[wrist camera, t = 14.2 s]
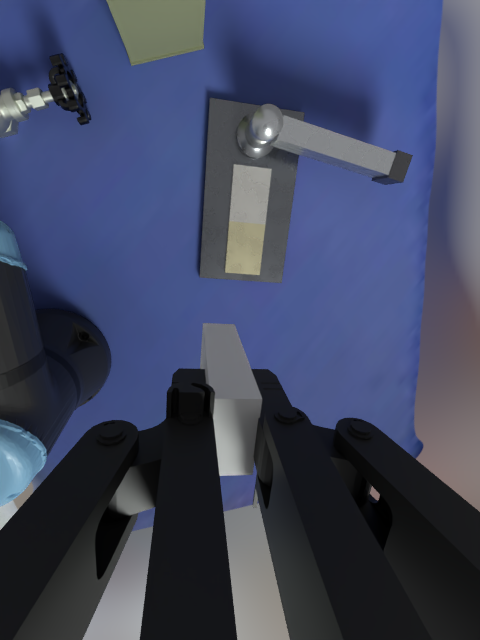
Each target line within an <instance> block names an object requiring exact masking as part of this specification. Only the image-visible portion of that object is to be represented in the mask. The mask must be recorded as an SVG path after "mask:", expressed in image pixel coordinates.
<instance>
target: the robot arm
mask: <svg viewBox="0 0 480 640" xmlns="http://www.w3.org/2000/svg"><path fill="white" fill-rule="evenodd" d="M25 270H27V266H26V264H25V263H23V261H22V258H21V254H20V251H19V248H18V244H17V241H16V238H15V235H14V233H13V231H12V230H11V229H10V227H9V226H7V225H6V224H5V223H3V222H2V221H0V506H3V505H5V504H7V503H9V502H10V501H12V500H13V499H15V498H16V497H17V496H19V495H20V494H21V493H22V492H23V491H24V490H25V488H27V486H28V485H29V484H30V482H31V481H32V479H33V478H34V477H35V475H36V474H37V473H38V472H39V471H40V470H41V469H42V468H43V466H44V465H45V463H46V460H47V456H48V455H49V453H50V451H51V449H52V448H53V446H54V444H55V442H56V441H57V439H58V437H59V436H60V434H61V432H62V430H63V429H64V427H65V425H66V424H67V422H68V420H69V418H70V417H71V415H72V413H73V411H74V410H76V409H77V408H78V407H79V406H81V405H83V404H85V403H86V402H88V401H89V400H91V399H92V398H93V397H94V396H95V395H96V394H97V393H98V392H99V391H100V390H101V388H102V387H103V385H104V383H105V381H106V379H107V377H108V375H109V372H110V368H111V353H110V349H109V346H108V344H107V341H106V339H105V338H104V336H103V335H102V333H101V332H100V331H99V330H98V329H97V328H96V327H95V326H94V325H93V324H92V323H91V322H89V321H88V320H86V319H85V318H83V317H81V316H79V315H77V314H75V313H72V312H69V311H65V310H60V309H40V310H35V307H34V303H33V299H32V295H31V291H30V287H29V283H28V279H27V275H26V271H25ZM254 461H255V465H256V469H257V476H256V484H255V491H254V498H253V508H256V507H257V501H259V505H260V509H261V513H262V518H263V523H264V527H265V531H266V535H267V540H268V544H269V549H270V553H271V558H272V562H273V566H274V571H275V576H276V580H277V584H278V588H279V593H280V597H281V602H282V606H283V611H284V615H285V620H286V624H287V628H288V633H289V637H290V640H480V512H479V511H478V510H477V509H475V508H474V507H473V506H472V505H470V504H469V503H468V502H467V501H466V500H464V499H463V498H462V497H461V496H460V495H458V494H457V493H456V492H455V491H454V490H452V489H451V488H450V487H449V486H447V485H446V484H445V483H444V482H442V481H441V480H440V479H439V478H438V477H437V476H435V475H434V474H433V473H431V472H430V471H429V470H428V469H427V468H426V467H424V466H423V465H422V464H421V463H419V462H418V461H417V460H416V459H415V458H413V457H412V456H411V455H410V454H409V453H407V452H406V451H405V450H404V449H403V448H401V447H400V446H399V445H398V444H396V443H395V442H394V441H393V440H392V439H390V438H389V437H388V436H387V435H386V434H384V433H383V432H382V431H381V430H379V429H378V428H377V427H375V426H374V425H372V424H371V423H369V422H366V421H364V420H362V419H357V418H344V419H341V420H339V421H338V423H337V424H336V428H335V430H333V429H328V428H323V427H319V426H315V425H312V424H311V422H310V420H309V418H308V417H307V416H306V414H305V413H304V412H302V411H301V410H299V409H297V408H295V407H292V405H291V403H290V402H289V400H288V398H287V396H286V394H285V392H284V390H283V388H282V386H281V384H280V382H279V380H278V378H277V376H276V375H275V374H273V373H272V372H271V371H269V370H268V369H251V367H250V365H249V362H248V359H247V357H246V354H245V351H244V349H243V346H242V343H241V341H240V338H239V335H238V333H237V330H236V327H235V325H234V324H211V323H203V332H202V348H201V364H200V369H178V370H177V371H176V372H175V373H174V374H173V377H172V386H171V387H169V389H168V391H167V408H166V419H165V420H164V421H163V422H162V423H161V424H159V425H157V426H155V427H153V428H150V429H146V430H142V431H138V430H137V427H136V426H135V425H133V424H132V423H130V422H127V421H123V420H111V421H106V422H102V423H100V424H98V425H95V426H93V427H92V428H91V429H90V430H88V431H87V432H86V433H85V434H84V435H83V436H82V438H81V439H80V440H79V441H78V442H77V443H76V444H75V446H74V447H73V448H72V449H71V450H70V451H69V452H68V454H67V455H66V456H65V457H64V458H63V459H62V460H61V462H60V463H59V464H58V465H57V466H56V467H55V468H54V470H53V471H52V472H51V473H50V474H49V475H48V476H47V478H46V479H45V480H44V481H43V482H42V483H41V484H40V486H39V487H38V488H37V489H36V490H35V491H34V492H33V494H32V495H31V496H30V497H29V498H28V499H27V500H26V502H25V503H24V504H23V505H22V506H21V507H20V508H19V510H18V511H17V512H16V513H15V514H14V515H13V516H12V518H11V519H10V520H9V521H8V522H7V523H6V524H5V526H4V527H3V528H2V529H1V530H0V640H82V639H83V637H84V635H85V633H86V631H87V628H88V626H89V624H90V622H91V619H92V617H93V615H94V613H95V611H96V608H97V606H98V604H99V602H100V599H101V597H102V595H103V593H104V591H105V589H106V586H107V584H108V582H109V580H110V578H111V575H112V573H113V571H114V569H115V566H116V564H117V562H118V560H119V558H120V555H121V553H122V551H123V549H124V547H125V544H126V542H127V540H128V538H129V536H130V533H131V531H132V529H133V527H134V525H135V522H136V520H137V517H138V513H139V512H142V511H145V510H148V509H151V508H154V507H156V508H155V517H154V525H153V533H152V542H151V550H150V559H149V567H148V575H147V584H146V592H145V601H144V609H143V617H142V626H141V634H140V640H237V633H236V624H235V615H234V606H233V596H232V587H231V578H230V569H229V559H228V550H227V541H226V532H225V523H224V513H223V504H222V495H221V485H220V476H226V475H252V474H253V467H254ZM372 486H373V487H374V488H375V489H376V491H377V492H378V493H379V494H380V498H379V500H378V501H377V500H375V499H374V498H373V497H372V496H371V495H370V490H371V487H372Z"/></svg>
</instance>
